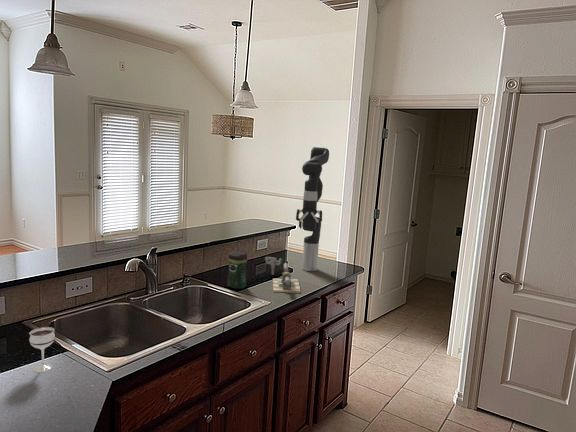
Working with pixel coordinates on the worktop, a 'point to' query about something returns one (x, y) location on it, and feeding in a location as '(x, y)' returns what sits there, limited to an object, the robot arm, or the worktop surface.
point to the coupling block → (286, 275)
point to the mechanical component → (272, 262)
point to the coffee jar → (237, 270)
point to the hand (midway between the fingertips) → (308, 228)
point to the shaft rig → (286, 283)
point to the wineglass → (42, 344)
